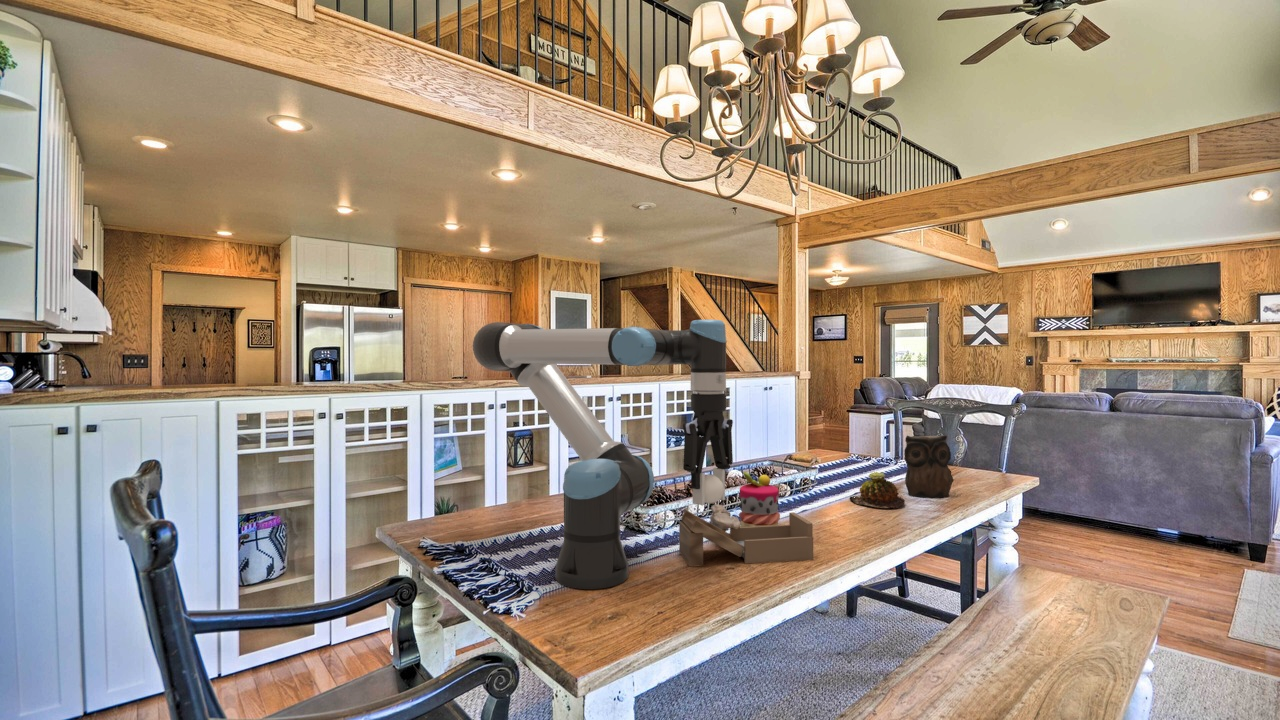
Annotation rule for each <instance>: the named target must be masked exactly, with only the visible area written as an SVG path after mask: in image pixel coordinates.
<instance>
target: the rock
mask: <svg viewBox="0 0 1280 720" xmlns="http://www.w3.org/2000/svg"><path fill="white" fill-rule="evenodd" d="M710 510H711V512H712V513H710V515H711V516H710V518H709V521H710V522H709V523H711V524H712V525H714V526H716V527H718V528H720V529H722V530H723V531H725V532H727V531H729V530H730V528H734V529H738V528H739V527H741V520H739V517H738V516H734V515H732V516H731V512H729V511H728V510H727V509H726V507H725V506H724V505H722V504H718V503H716V504H713V505H711V507H710Z"/></svg>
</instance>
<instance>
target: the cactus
mask: <svg viewBox="0 0 1280 720" xmlns="http://www.w3.org/2000/svg"><path fill="white" fill-rule="evenodd" d="M885 477H886V474H885V473H884V472H877V471H876V472H875V471H874V472H871V473H869V475H868V478H869V479H870V480H868V479H867V480H866V481H864V483H861V487H859V494H860V496H858V495H852V496H850V497H849V500H850V501H851V502H852V503H854V504H855V505H856V504H857V505H861V506H868V507H873V508H879V509H891V508H893V509H894V510H895V509H898V508H900V507H901V506H902V505H904V504H905V503H906V501H905V499H904V498H903V497H901V496H899V493H900V492H898V491H899V488H898V487H897V486H896V485H895V483H893V481H890V480H887V479H886V478H885ZM854 497H855V498H854Z"/></svg>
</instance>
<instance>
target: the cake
mask: <svg viewBox="0 0 1280 720" xmlns="http://www.w3.org/2000/svg"><path fill="white" fill-rule="evenodd" d="M743 476H744V478H745V479H746V483H747V484H744V485H741V486H740V487H739V501H740V503H739V509H740V511H741V512H740V513H739V514H738V518H740V527H753V526H772V525H779V521H780V518H781V514H780V512H779V509H780V508H779V507H780V506H779V497H780V490H779V488H778V487H776V486H775V485H772V484H770V483H771V478H770V476H768V475H767V474H762V475H760V476H759V477H758V479H757V480H758V481H757V480H755V479H753V477H752V476H751V475H750V474H749V473H748V472H747V471H743Z"/></svg>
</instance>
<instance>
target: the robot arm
mask: <svg viewBox="0 0 1280 720" xmlns="http://www.w3.org/2000/svg"><path fill="white" fill-rule="evenodd" d="M726 335H727V334H726V324H725V322H724V321H722V320H720V319H695V320H692V321H691V322H690V326H689V329H683V330H681V329H680V330H679V329H677V330H670V329H669V330H667V329H665V330H664V329H656V328H655V329H654V328H644V327H641V326H628V327H621V328H620V327H619V328H616V327H613V328H611V327H610V328H609V327H607V328H605V327H604V328H603V327H602V328H601V327H600V328H543V327H541V326H538V325H535V324H532V323H514V322H513V323H511V322H502V321H496V322H490V323H488V324H485V325H484V326H482V327H481V328H480V329H479V330H478V331H477V332H476V333H475V336H474V338H473V341H472V352H473V355H474V358H475V359H476V360H477V362H478V363H479V365H481V366H482V367H483V368H485V369H487V370H489V371H494V372H510V374H511V375H512V377H513V378H514V380H515V381H516V382H517V384H518V385H519V386H522V387H527V388H529V390H530V391H531V392H532V394H533V395H534V396H535V398H536V399H537V401H538V402H539V403H540V405H541V407H542V408H543V409H544V410H545V412H546V413H547V414H548V416H549V418H550V419H551V420H552V421H553V423H554V425H555V426H556V427H557V428H558V429H559V431H560V433H561V434H562V435H563V437H564V438H565V439H566V441H567V442H568V444H569V445H570V447H571V448H572V449H573V450H574V452H575V453H576V455H577V456H578V457H579V459H580V461H577V462H574V463H572V464H571V465H569V466H568V467H567V468H566V469H565V470H564V474H563V475H564V476H563V484H562V491H563V542H562V545H561V548H560V551H559V554H558V557H557V560H556V563H555V564H556V565H555V571H554V572H555V578H554V579H555V580H556V582H558V583H559V584H560V585H562V586H564V587H568V588H571V589H578V590H579V589H580V590H599V589H600V590H601V589H607V588H611V587H615V586H617V585H620V584H622V583H624V582H625V581H626V580H627V579H629V563H628V559H627V556H626V553H625V549H624V547H623V544H622V541H621V515H624V514H625V513H627V512H629V511H631V510H635V509H637V508H639V507H640V506H642V504H644V503H645V502H646V501H647V500H648V499H649V498H650V496H651V495H652V493H653V490H654V487H655V476H654V471H653V469H652V467H651V465H650V464H649V462H648V461H647V460H646V459H645V458H643V457H641V456H640V455H635V454H632V453H631V452H630V450H629V448H628V447H627V446H626V445H625V443H624V442H622V441H615V440H614V439H613V438H612V437H611V435H609V433H608V432H607V430H606V429H605V428H604V426H603V425H602V424H601V422H600V421H599V420H598V418H597V417H596V415H595V414H594V413H593V412H592V410H591V409H590V408H589V407H588V405H587V404H586V403H585V402H584V400H583V398H582V397H581V396H580V394H579V393H578V392H577V391H576V389H575V388H574V386H573V385H572V384H571V382H569V380H568V379H567V378H566V376H565V374H564V373H563V372H562V371H561V369H560V368H559V367H558V365H606V366H607V365H608V366H609V365H612V366H613V365H615V366H616V365H617V366H618V365H619V366H630V367H639V366H640V367H641V366H661V365H662V366H664V365H665V366H668V365H669V366H672V365H673V366H674V365H685V366H686V365H687V366H688V365H690V391H691V392H693V393H691V395H690V410H691V411H692V412H693V417H692V421H690V422H684V423H683V425H682V428H683V433H684V440H683V441H684V445H683V470H684V471H686V472H687V473H690V478H691V479H690V483H691V484H690V486H691V487H690V488H691V489H692V504H695V505H699V506H705V505H706V504H705V475H706V474H705V473H703V472H702V471H703V467H704V461H705V457H706V451H707V445H708V443H709V442H710V445H711V450H712V455H713V456H712V457H713V460H714V465H715V467H713V468H712V475H714V476H716V477H718V478H719V479H720V480H721V482H722V484H723V487H724V492H723V495H722V497H721V498H720V499H719V500H718V501H720V500H721V501H725V500H726V481H727V476H726V475H727V470H729V469H730V468H731V465H733V463H734V461H733V460H734V459H733V436H732V435H733V434H732V429H733V423H734V421H733V419H730V418H725V416H724V412H725V411H727V395H726V393H724V392H725V391H727V375H726V374H727V373H726V372H727V344H728V343H727V336H726Z"/></svg>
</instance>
